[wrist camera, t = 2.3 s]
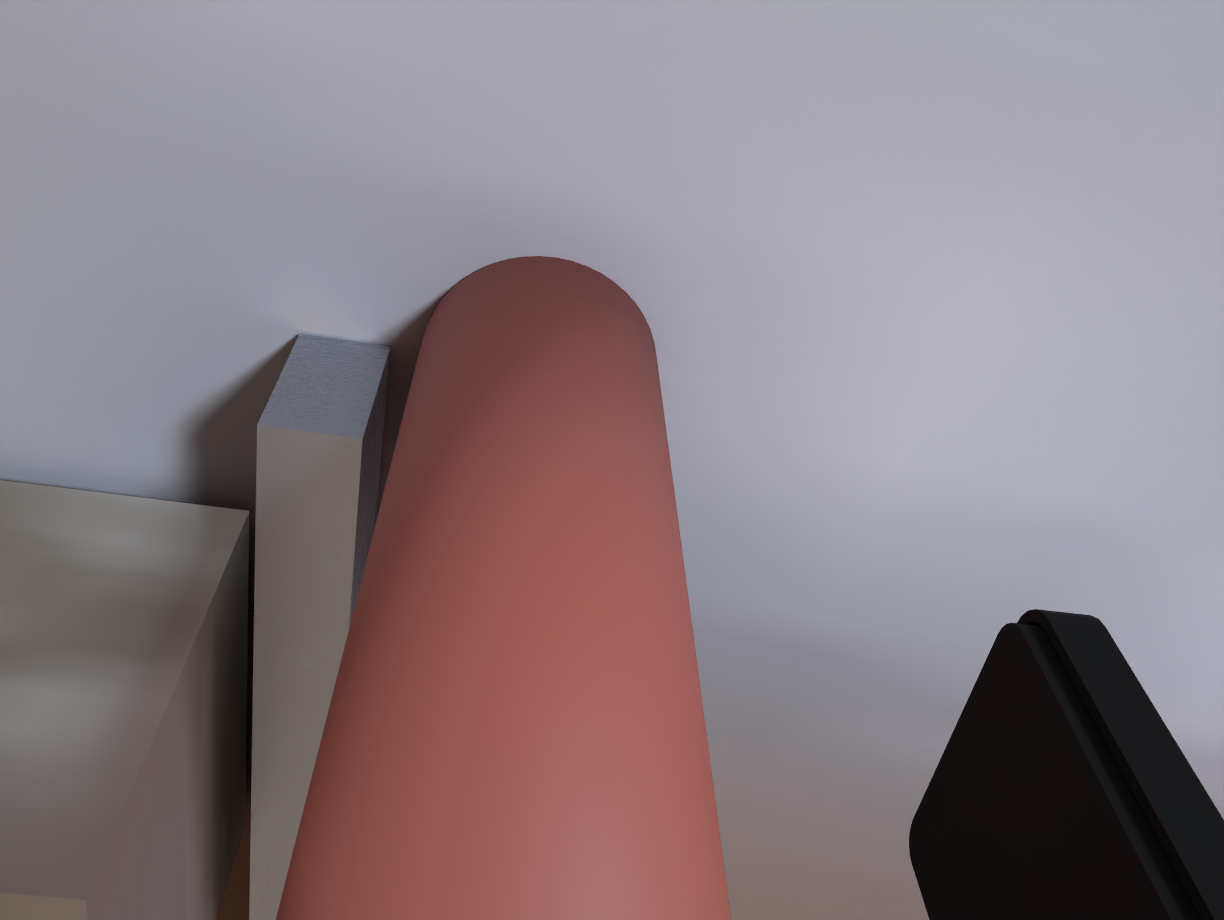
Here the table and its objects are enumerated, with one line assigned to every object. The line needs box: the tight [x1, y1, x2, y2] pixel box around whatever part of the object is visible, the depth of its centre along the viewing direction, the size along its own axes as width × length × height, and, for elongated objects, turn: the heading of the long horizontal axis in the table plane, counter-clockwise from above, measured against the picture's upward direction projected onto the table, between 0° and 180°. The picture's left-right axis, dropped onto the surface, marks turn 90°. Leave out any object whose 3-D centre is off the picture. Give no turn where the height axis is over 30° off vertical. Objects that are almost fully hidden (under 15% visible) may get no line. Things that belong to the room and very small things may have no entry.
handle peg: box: [276, 256, 731, 920], centre depth 12 cm, size 3×3×10 cm
